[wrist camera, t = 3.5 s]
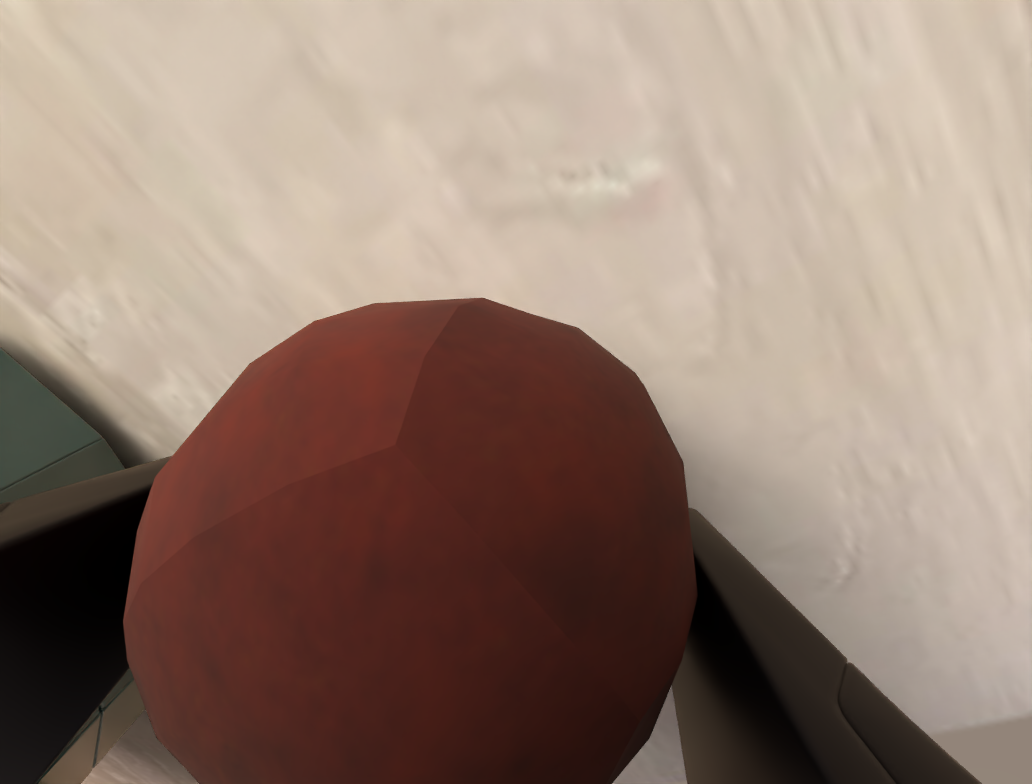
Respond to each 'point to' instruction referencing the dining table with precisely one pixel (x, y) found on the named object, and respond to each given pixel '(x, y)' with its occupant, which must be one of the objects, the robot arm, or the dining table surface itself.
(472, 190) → the dining table surface
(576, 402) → the potato
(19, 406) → the bowl
